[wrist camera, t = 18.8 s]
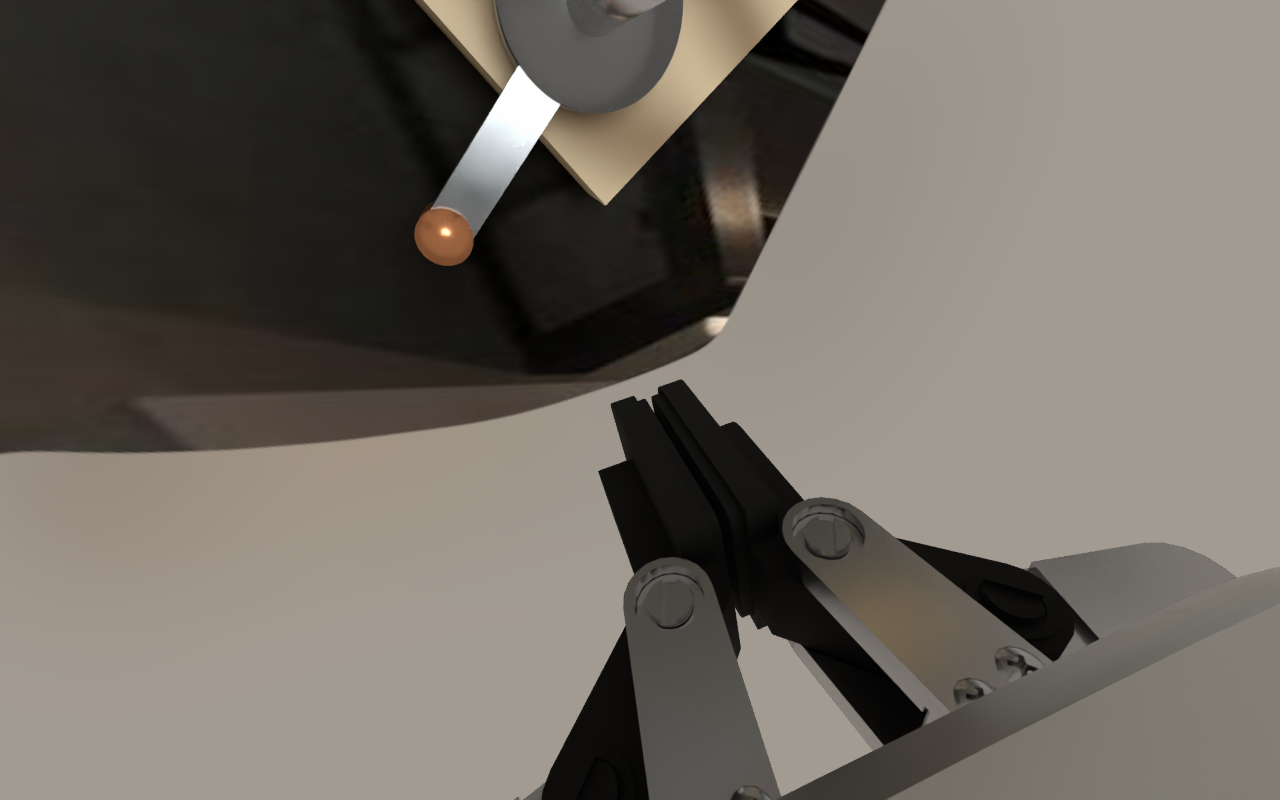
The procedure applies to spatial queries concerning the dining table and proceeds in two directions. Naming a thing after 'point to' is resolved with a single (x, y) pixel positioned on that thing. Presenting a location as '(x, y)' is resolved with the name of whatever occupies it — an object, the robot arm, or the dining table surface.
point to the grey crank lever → (548, 97)
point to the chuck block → (627, 138)
